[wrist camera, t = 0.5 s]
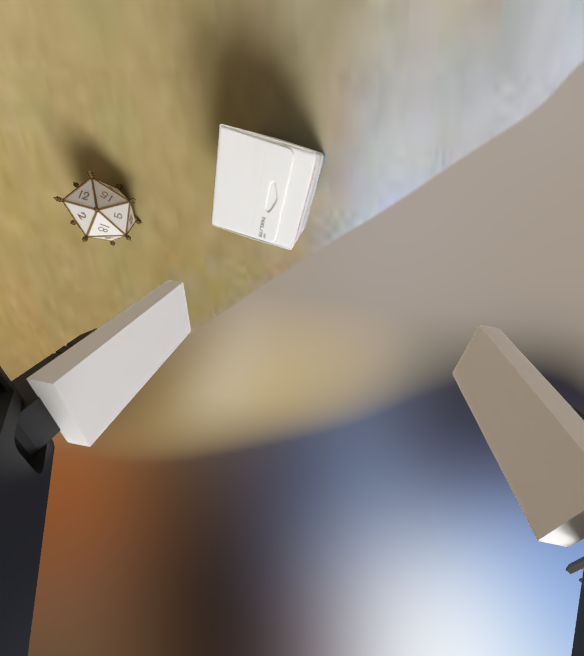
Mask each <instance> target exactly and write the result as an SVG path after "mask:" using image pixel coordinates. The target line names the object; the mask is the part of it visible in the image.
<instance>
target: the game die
mask: <svg viewBox="0 0 584 656" xmlns="http://www.w3.org/2000/svg"><path fill="white" fill-rule="evenodd" d="M88 174H89V176H90V178H89V179H88V180H87V181H85V182H84V183H83V184H81V185H80V186H79V184H78V183H75V182H73V183H74V186H75V187H76V189H75V190H74V191H72V192H71V193H70V194H68V195H67V196H66V197H65V198H63V199H62V198H60V197H58V196H57V197H53V198H54V199H55V200H56V201H59V202H63V203H64V205H65V206H66V208H67V209H68V211H69V213H70V214H71V216H72V217H73V219H74V220H75V221H74V220H72V221H71V223H70V224H73V225H75V224H76V223H77V225H78V226H79V228H80V229H81V230H82V232H83V233H84V235H85V237H83V238H82V240H83V242H85V241H87V240H88V237H90V238H96V239H102V240H109V241H111V242H110V243H111V245H113V246H114V245H115V242H114V241H113V240H116V239H119V238H121V237H124V236H125V237H126V238H127V240H131V237H130V236H129V235H127V234H128V233H129V231H130V230H131V228H132V227H133V225H134V223H135V222H136V223H137V224H140V223H142V222H141V221H140V220H136V219H135V216H134V212H133V209H132V205H131V203H133V202H135V201H136V199H134V198H132V199H130V200H129V199H128V198H127V197H126V196H125V195H124V194H123V193H122V192H121V191H120V190H119V189H121V184H117V186H116V187H113V186H111V185H109V184H106V183H104V182H102V181H100V180H97V179H95V178H93V176H94V175H93V173H92V172H91V171H90V170H89V171H88Z"/></svg>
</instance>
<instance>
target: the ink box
mask: <svg viewBox="0 0 584 656" xmlns="http://www.w3.org/2000/svg"><path fill="white" fill-rule="evenodd" d="M219 127H220V128H219V140H218V152H217V166H216V177H215V189H214V201H213V215H212V225H213V226H216V227H218V228H221V229H224V230H227V231H230V232H233V233H236V234H239V235H242V236H245V237H248V238H251V239H254V240H258V241H261V242H264V243H268V244H271V245H275V246H278V247H282V248H285V249H289V250H291V249H292V247H293V246H294V244H295V242H296V241H297V239H298V238H299V236H300V234H301V233H302V231H303V229H304V228H305V226H306V223H307V219H308V215H309V212H310V208H311V205H312V201H313V197H314V194H315V190H316V187H317V183H318V180H319V176H320V173H321V169H322V165H323V162H324V158H325V155H324V154H323V153H321V152H318V151H315V150H312V149H309V148H306V147H303V146H300V145H297V144H294V143H291V142H288V141H284V140H281V139H278V138H274V137H270V136H267V135H263V134H259V133H255V132H252V131H248V130H244V129H240V128H236V127H232V126H228V125H225V124H220V125H219Z"/></svg>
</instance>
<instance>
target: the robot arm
mask: <svg viewBox="0 0 584 656" xmlns="http://www.w3.org/2000/svg"><path fill="white" fill-rule="evenodd" d="M190 332H191V329H190V322H189V316H188V310H187V303H186V297H185V291H184V285H183V282H178V281H171V280H167V281H165V282H164V283H162V284H161V285H160V286H158V287H157V288H155V289H154V290H152V291H151V292H150V293H148V294H147V295H145V296H144V297H142V298H141V299H140V300H138V301H137V302H135V303H134V304H132V305H131V306H130V307H128V308H127V309H125V310H124V311H122V312H121V313H120V314H118V315H117V316H115V317H114V318H112V319H111V320H110V321H108V322H107V323H105V324H104V325H102V326H101V327H99V328H98V329H94V330H91V331H89V332H86V333H84V334H82V335H79V336H78V337H77V338H75V339H74V340H72V341H71V342H69V343H68V344H67V346H63V347H62V348H60V349H59V350H57V351H56V353H55V354H54V353H53V354H51V355H50V356H48V357H47V358H45V359H44V360H42V361H41V362H40V363H38V364H37V365H35V366H34V367H32V368H31V369H29V370H28V371H26V372H25V373H23V374H22V375H20V376H19V377H17V378H16V379H14V380H13V381H10V380H9V378H8V377H7V375H6V374H5V372H4V371H3V370H2V368H1V367H0V656H28V649H29V641H30V633H31V625H32V618H33V610H34V602H35V594H36V587H37V579H38V571H39V564H40V556H41V548H42V540H43V532H44V525H45V517H46V509H47V501H48V494H49V486H50V478H51V470H52V462H53V455H54V442H53V440H52V438H53V437H54V436H55V435H56V434H57V433H58V432H59V431H61V433H62V434H63V436H64V437H65V439H66V440H67V442H70V443H75V444H79V445H84V446H89V447H90V446H91V445H92V444H93V443H94V441H95V440H96V439H97V438H98V437H99V436H100V435H101V434H102V432H103V431H104V430H105V429H106V428H107V427H108V426H109V424H110V423H111V422H112V421H113V420H114V419H115V418H116V416H117V415H118V414H119V413H120V412H121V411H122V409H123V408H124V407H125V406H126V405H127V404H128V403H129V401H130V400H131V399H132V398H133V397H134V396H135V395H136V393H137V392H138V391H139V390H140V389H141V388H142V387H143V386H144V384H145V383H146V382H147V381H148V380H149V379H150V378H151V376H152V375H153V374H154V373H155V372H156V371H157V369H158V368H159V367H160V366H161V365H162V363H164V361H165V360H166V359H167V358H168V357H169V356H170V355H171V353H172V352H173V351H174V350H175V349H176V348H177V347H178V345H179V344H180V343H181V342H182V341H183V340H184V339H185V337H186V336H187V335H188V334H189V333H190ZM452 374H453V376H454V378H455V380H456V381H457V384H458V386H459V388H460V390H461V392H462V394H463V395H464V398H465V399H466V401H467V403H468V405H469V407H470V409H471V411H472V413H473V415H474V417H475V419H476V421H477V423H478V425H479V427H480V429H481V431H482V433H483V435H484V437H485V438H486V440H487V442H488V444H489V446H490V448H491V450H492V452H493V454H494V456H495V458H496V460H497V462H498V464H499V466H500V468H501V470H502V472H503V474H504V476H505V478H506V480H507V482H508V483H509V485H510V487H511V489H512V491H513V493H514V495H515V497H516V499H517V501H518V503H519V505H520V507H521V509H522V511H523V513H524V515H525V517H526V518H527V521H528V523H529V524H530V526H531V528H532V530H533V532H534V534H535V536H536V538H537V540H538V541H542V542H546V543H552V544H556V545H561V546H566V547H570V546H571V545H573V544H575V543H577V542H578V541H580V540H582V539H583V538H584V414H582V413H581V412H580V411H578V410H577V409H576V408H574V407H571V406H570V405H569V404H568V403H567V402H566V401H565V400H564V398H563V397H562V396H561V395H560V394H559V393H558V392H557V391H556V390H555V389H554V387H552V385H551V384H550V383H549V382H548V381H547V380H546V379H545V378H544V377H543V376H542V374H541V373H540V372H539V371H538V370H537V369H536V368H535V367H534V366H533V365H532V364H531V363H530V362H529V360H528V359H527V358H526V357H525V356H524V355H523V354H522V353H521V352H520V351H519V350H518V348H517V347H516V346H515V345H514V344H513V343H512V342H511V341H510V340H509V339H508V338H507V337H506V336H505V334H504V333H503V332H502V331H501V330H500V329H499V328H496V327H489V326H482V325H479V326H478V328H477V330H476V332H475V334H474V335H473V337H472V339H471V341H470V342H469V344H468V346H467V348H466V350H465V351H464V353H463V355H462V357H461V358H460V360H459V362H458V364H457V366H456V367H455V369H454V371H453V373H452ZM580 569H584V557H582V558H580V559H578V560H576V561H574V562H572V563H571V564H569V565H568V567H567V568H566V571H568V572H569V573H570V574H572V573H574V572H576V571H578V570H580ZM579 581H580V582H582V585H581V592H580V599H579V607H578V613H577V621H576V627H575V635H574V641H573V648H572V656H584V571H583V578H581V579H579Z"/></svg>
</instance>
